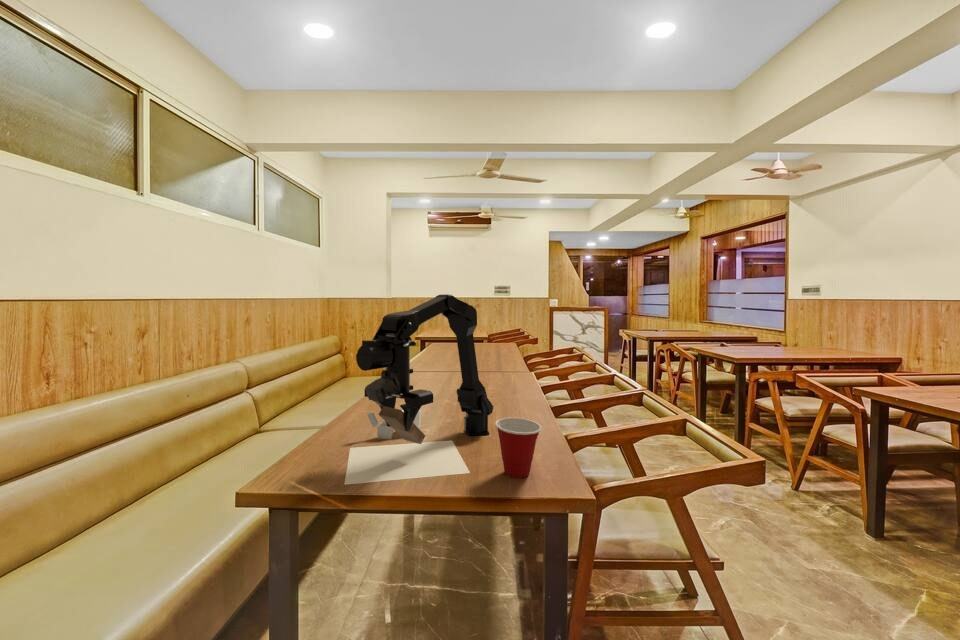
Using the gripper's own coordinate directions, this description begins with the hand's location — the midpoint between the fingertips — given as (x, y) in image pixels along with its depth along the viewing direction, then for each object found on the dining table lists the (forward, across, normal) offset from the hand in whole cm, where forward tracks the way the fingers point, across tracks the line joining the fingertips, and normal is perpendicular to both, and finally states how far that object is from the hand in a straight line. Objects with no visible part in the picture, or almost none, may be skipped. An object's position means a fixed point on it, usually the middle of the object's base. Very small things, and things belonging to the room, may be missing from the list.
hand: (398, 428), depth 106 cm
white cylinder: (+9, -16, +20) cm, 27 cm away
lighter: (+9, -19, +10) cm, 23 cm away
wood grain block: (+4, 0, +6) cm, 7 cm away
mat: (+9, 0, +3) cm, 9 cm away
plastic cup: (+9, +27, +13) cm, 31 cm away
